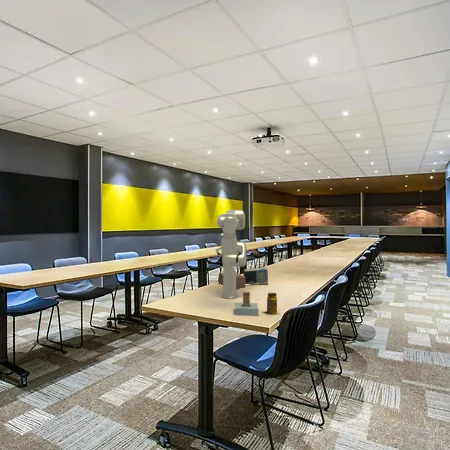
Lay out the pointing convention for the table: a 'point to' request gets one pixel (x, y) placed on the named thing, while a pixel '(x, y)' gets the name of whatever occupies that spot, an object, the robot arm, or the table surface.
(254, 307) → the socket block
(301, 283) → the table surface
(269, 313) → the condiment
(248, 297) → the peg
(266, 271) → the radio
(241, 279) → the tissue box cover
